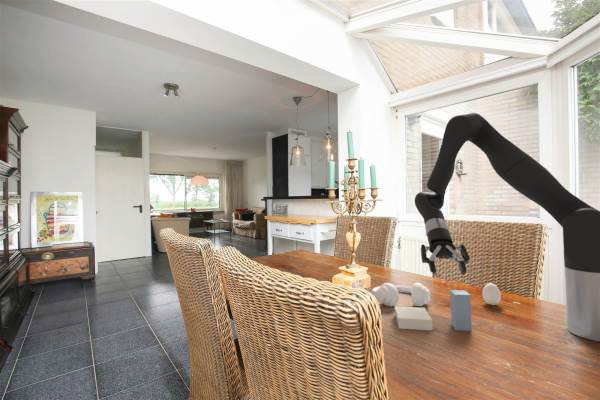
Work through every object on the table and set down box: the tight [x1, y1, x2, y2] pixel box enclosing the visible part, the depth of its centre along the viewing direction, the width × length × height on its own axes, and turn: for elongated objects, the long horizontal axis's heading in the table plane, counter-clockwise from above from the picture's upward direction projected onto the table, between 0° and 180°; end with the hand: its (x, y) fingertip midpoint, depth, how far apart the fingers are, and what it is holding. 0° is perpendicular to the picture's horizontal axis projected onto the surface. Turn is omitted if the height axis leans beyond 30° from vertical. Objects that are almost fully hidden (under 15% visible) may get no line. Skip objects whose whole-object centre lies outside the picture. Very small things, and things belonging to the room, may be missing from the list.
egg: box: [481, 282, 502, 306], centre depth 95 cm, size 5×5×7 cm
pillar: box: [449, 289, 473, 332], centre depth 79 cm, size 4×4×10 cm
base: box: [394, 305, 433, 331], centre depth 83 cm, size 9×9×3 cm
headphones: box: [371, 282, 431, 308], centre depth 104 cm, size 20×8×20 cm
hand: (449, 273), depth 89 cm, fingers open, 8 cm apart
